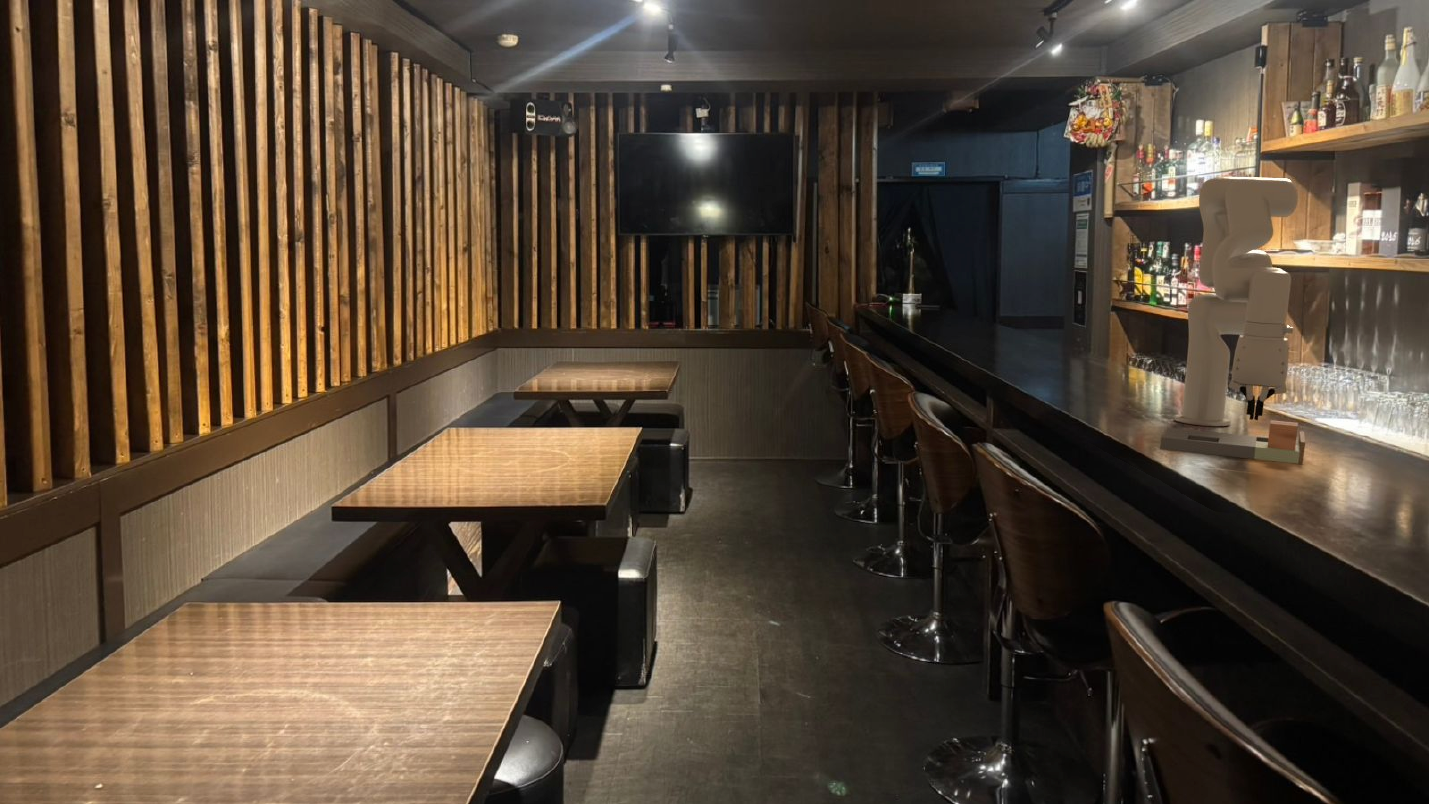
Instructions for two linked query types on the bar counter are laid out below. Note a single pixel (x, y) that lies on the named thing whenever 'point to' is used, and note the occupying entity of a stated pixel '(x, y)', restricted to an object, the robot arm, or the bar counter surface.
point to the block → (1282, 435)
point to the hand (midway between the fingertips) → (1253, 418)
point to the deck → (1230, 445)
